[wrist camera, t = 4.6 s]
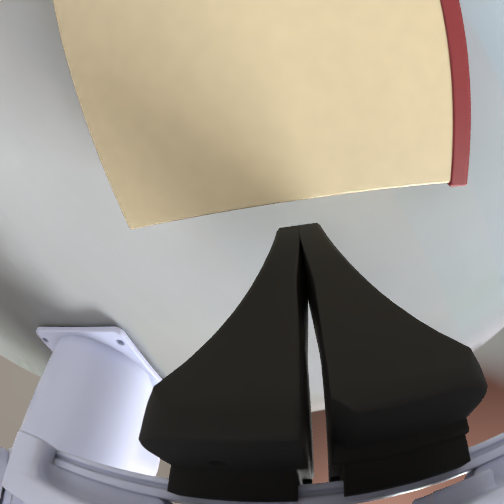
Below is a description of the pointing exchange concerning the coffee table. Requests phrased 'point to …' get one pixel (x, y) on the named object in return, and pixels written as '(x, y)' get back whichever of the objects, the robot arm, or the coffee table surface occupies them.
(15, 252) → the coffee table surface
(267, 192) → the book
